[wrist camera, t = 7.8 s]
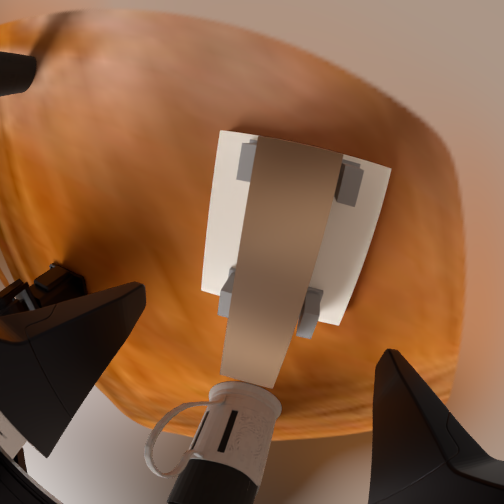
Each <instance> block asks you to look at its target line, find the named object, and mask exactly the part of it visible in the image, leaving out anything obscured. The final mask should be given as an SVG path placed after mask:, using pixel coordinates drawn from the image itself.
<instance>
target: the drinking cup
mask: <svg viewBox="0 0 504 504" xmlns="http://www.w3.org/2000/svg"><path fill="white" fill-rule="evenodd" d="M35 71H36V59H35V58H34V57H32V56H26V55H20V54H14V53H7V52H0V96H5V95H10V94H16V93H22V92H25V91H26V90H27V89H28V88H29V86H30V85H31V83H32V80H33V78H34V75H35Z"/></svg>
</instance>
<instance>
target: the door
mask: <svg viewBox="0 0 504 504" xmlns="http://www.w3.org/2000/svg"><path fill="white" fill-rule="evenodd" d="M342 159H343V154H341V153H338V152H335V151H332V150H328V149H324V148H320V147H316V146H312V145H307V144H303V143H298V142H293V141H289V140H284V139H278V138H271V137H263V136H258V140H257V145H256V151H255V157H254V162H253V168H252V174H251V180H250V186H249V191H248V197H247V203H246V209H245V215H244V221H243V227H242V233H241V239H240V246H239V252H238V258H237V264H236V271H235V277H234V283H233V290H232V296H231V303H230V309H229V316H228V322H227V329H226V335H225V342H224V349H223V356H222V363H221V369H220V374H221V375H224V376H227V377H230V378H234V379H237V380H241V381H244V382H248V383H252V384H256V385H259V386H263V387H267V388H271V389H273V387H274V384H275V381H276V379H277V376H278V374H279V371H280V368H281V366H282V363H283V360H284V358H285V355H286V352H287V349H288V347H289V344H290V341H291V338H292V335H293V332H294V329H295V326H296V324H297V321H298V318H299V315H300V312H301V309H302V306H303V302H304V299H305V296H306V293H307V290H308V287H309V284H310V280H311V277H312V274H313V270H314V267H315V264H316V260H317V257H318V253H319V250H320V246H321V243H322V239H323V236H324V232H325V228H326V225H327V221H328V217H329V213H330V210H331V206H332V202H333V198H334V194H335V190H336V185H337V181H338V177H339V173H340V168H341V164H342Z"/></svg>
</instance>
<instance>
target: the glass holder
mask: <svg viewBox="0 0 504 504" xmlns="http://www.w3.org/2000/svg"><path fill="white" fill-rule="evenodd" d="M200 405H208V406H207V409H206V411H205V413H204V416H203V418H202V420H201V422H200V425H199V427H198V429H197V431H196V434H195V436H194V438H193V440H192V443H191V445H190V447H189V449H188V450H187V451H186V452H185V453H184V455H183V456H182V458H181V460H180V462H179V464H178V465H177V466H176V468H175V469H174V470H173V471H171V472H169V473H165V474H163V473H161V472H160V471H159V470H158V469H157V467H156V466H155V465H154V462H153V458H152V451H153V446H154V444H155V441H156V439H157V437H158V435H159V434H160V432H161V431H162V429H163V428H164V426H165V425H166V424H167V423H168V422H169V421H170V420H171V419H172V418H173V417H174V416H175V415H177V414H178V413H179V412H181V411H183V410H184V409H186V408H189V407H193V406H200ZM281 411H282V406H281V403H280V401H279V400H278V399H277V398H276V397H275V396H274V395H273V394H272V393H270V392H269V391H267V390H265V389H263V388H261V387H259V386H256V385H253V384H249V383H244V382H236V381H229V382H222V383H219V384H217V385H215V386H213V387H212V388H211V390H210V392H209V402H189V403H183V404H181V405H179V406H178V407H176V408H174V409H173V410H171V411H170V412H168V413H167V414H166V415H165V416H164V417H163V418H162V419H161V420H160V421H159V422H158V423H157V424H156V426H155V427H154V429H153V430H152V432H151V433H150V435H149V437H148V439H147V442H146V444H145V451H144V457H145V460H146V463H147V465H148V467H149V468H150V470H151V471H152V472H153V473H155V474H156V475H158V476H160V477H164V478H173V477H176V476H177V475H179V476H178V478H177V480H176V482H175V485H174V487H173V489H172V491H171V493H170V495H169V498H168V500H167V503H168V504H253V502H254V499H255V496H256V495H257V492H258V490H259V487H260V484H261V480H262V476H263V472H264V468H265V464H266V460H267V456H268V452H269V447H270V443H271V439H272V434H273V430H274V425H275V421H276V419H277V418H278V417H279V416H280V414H281Z"/></svg>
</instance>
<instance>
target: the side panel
mask: <svg viewBox="0 0 504 504" xmlns="http://www.w3.org/2000/svg"><path fill="white" fill-rule="evenodd" d="M263 137H264V136H263ZM257 140H258V135H252V134H245V133H239V132H232V131H223V130H220V135H219V142H218V148H217V155H216V162H215V169H214V176H213V184H212V191H211V199H210V207H209V216H208V225H207V234H206V243H205V253H204V264H203V275H202V286H201V291H205V292H208V293H212V294H215V295H219V296H220V299H219V307H218V315H220V316H223V317H227V318H228V316H229V309H230V303H231V296H232V290H233V283H234V277H235V271H236V264H237V258H238V252H239V246H240V239H241V233H242V227H243V221H244V215H245V209H246V203H247V197H248V191H249V186H250V180H251V174H252V168H253V162H254V157H255V151H256V145H257ZM390 173H391V168H388V167H385V166H382V165H379V164H376V163H373V162H369V161H366V160H363V159H359V158H356V157H352V156H349V155H345V154H343V159H342V164H341V168H340V173H339V177H338V181H337V185H336V190H335V194H334V198H333V202H332V206H331V210H330V213H329V217H328V221H327V225H326V228H325V232H324V236H323V239H322V243H321V246H320V250H319V253H318V257H317V260H316V264H315V267H314V270H313V274H312V277H311V280H310V284H309V287H308V290H307V293H306V296H305V299H304V302H303V306H302V309H301V312H300V315H299V318H298V326H297V333H296V336H300V337H304V338H308V339H311V337H312V334H313V332H314V329H315V327H316V324H317V321H320V322H325V323H329V324H334V325H338V326H339V324H340V322H341V319H342V317H343V315H344V312H345V310H346V307H347V305H348V303H349V300H350V298H351V295H352V293H353V290H354V287H355V285H356V282H357V280H358V277H359V274H360V272H361V269H362V266H363V263H364V260H365V258H366V255H367V252H368V249H369V246H370V243H371V240H372V237H373V234H374V230H375V227H376V224H377V221H378V217H379V214H380V211H381V207H382V204H383V200H384V197H385V193H386V189H387V185H388V181H389V177H390Z"/></svg>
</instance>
